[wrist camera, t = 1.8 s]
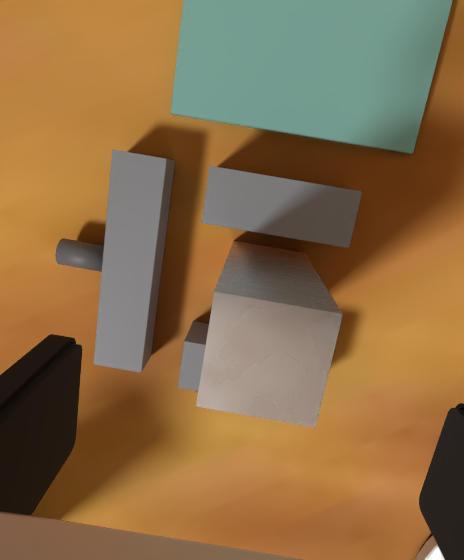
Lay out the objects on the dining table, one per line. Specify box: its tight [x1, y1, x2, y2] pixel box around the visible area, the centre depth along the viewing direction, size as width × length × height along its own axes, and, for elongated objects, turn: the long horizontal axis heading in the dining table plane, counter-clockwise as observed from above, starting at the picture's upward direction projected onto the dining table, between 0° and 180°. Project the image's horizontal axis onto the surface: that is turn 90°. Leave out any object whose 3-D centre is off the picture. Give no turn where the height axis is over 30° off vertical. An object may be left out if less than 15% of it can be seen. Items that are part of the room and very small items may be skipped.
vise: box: [56, 150, 362, 391], centre depth 25 cm, size 16×13×4 cm
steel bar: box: [196, 241, 343, 428], centre depth 21 cm, size 4×4×12 cm
